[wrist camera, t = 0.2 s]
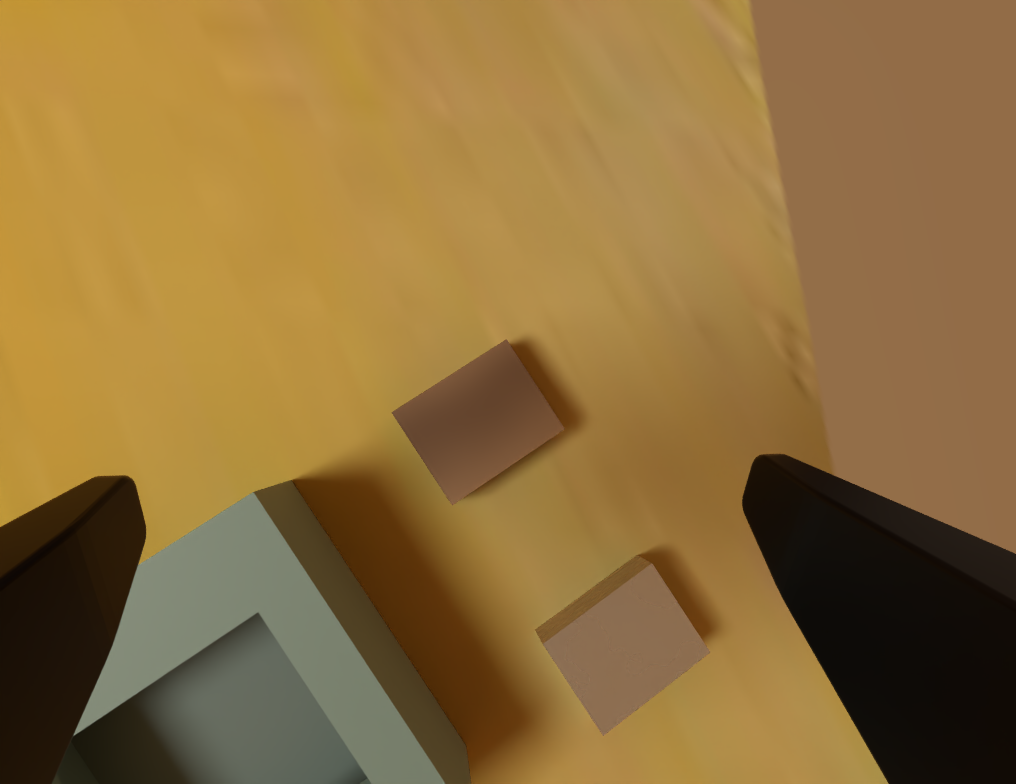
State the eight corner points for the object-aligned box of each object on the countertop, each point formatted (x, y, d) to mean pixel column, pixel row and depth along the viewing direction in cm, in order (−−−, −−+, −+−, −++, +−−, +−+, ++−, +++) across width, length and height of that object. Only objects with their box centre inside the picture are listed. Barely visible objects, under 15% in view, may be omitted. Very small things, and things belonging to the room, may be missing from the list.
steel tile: (687, 635, 25) (710, 652, 23) (588, 711, 24) (603, 735, 22) (634, 553, 25) (651, 563, 23) (533, 627, 24) (542, 643, 22)
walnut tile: (553, 430, 25) (565, 429, 23) (449, 499, 24) (452, 505, 22) (499, 347, 25) (506, 339, 23) (394, 414, 24) (391, 412, 22)
